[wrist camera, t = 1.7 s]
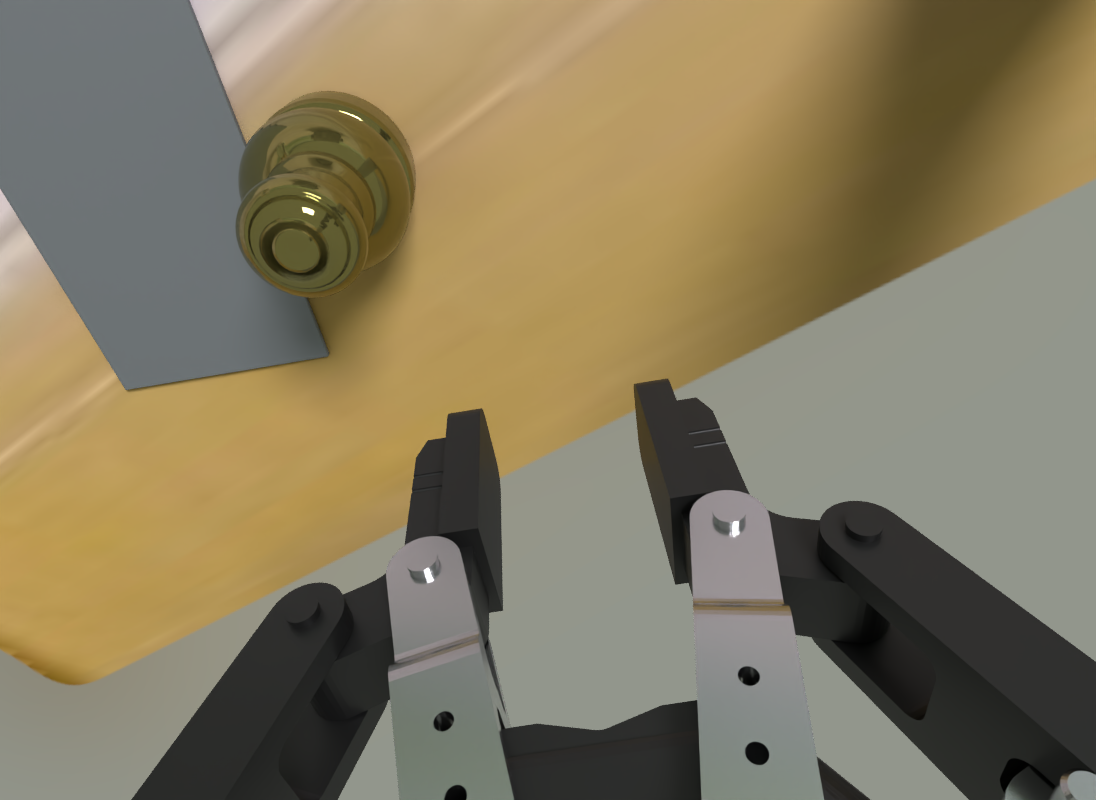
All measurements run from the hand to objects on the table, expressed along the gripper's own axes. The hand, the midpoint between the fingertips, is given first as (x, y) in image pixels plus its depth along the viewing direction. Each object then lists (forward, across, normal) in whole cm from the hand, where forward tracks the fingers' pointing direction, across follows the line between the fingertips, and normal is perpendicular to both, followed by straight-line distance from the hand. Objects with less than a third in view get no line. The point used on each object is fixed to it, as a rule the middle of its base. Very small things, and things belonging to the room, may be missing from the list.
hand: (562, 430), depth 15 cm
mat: (+23, +19, 0) cm, 30 cm away
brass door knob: (+23, +9, 0) cm, 25 cm away
